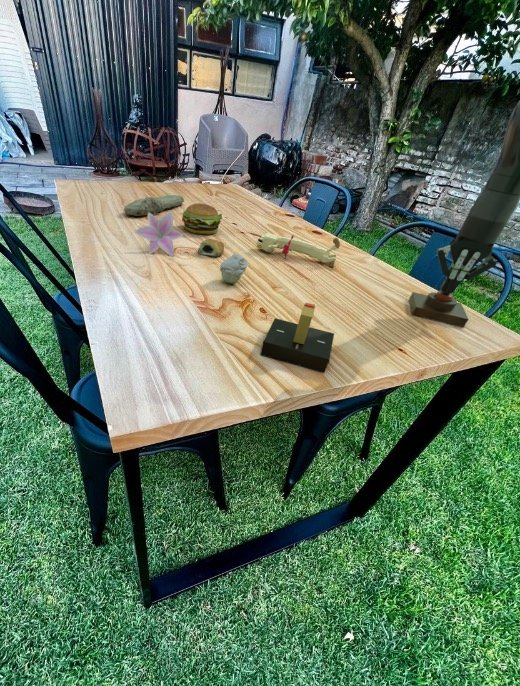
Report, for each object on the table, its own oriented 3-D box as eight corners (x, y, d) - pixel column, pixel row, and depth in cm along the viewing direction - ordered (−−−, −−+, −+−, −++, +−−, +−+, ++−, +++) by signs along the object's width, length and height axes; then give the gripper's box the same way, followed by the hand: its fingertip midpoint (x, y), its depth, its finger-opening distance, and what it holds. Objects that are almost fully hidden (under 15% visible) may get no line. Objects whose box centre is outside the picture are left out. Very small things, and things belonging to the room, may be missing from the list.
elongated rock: (190, 208, 146) (169, 205, 149) (190, 194, 143) (169, 190, 146) (140, 218, 120) (117, 214, 123) (139, 201, 117) (115, 197, 120)
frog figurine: (248, 286, 88) (253, 258, 83) (224, 288, 85) (228, 260, 80) (237, 276, 92) (241, 249, 87) (213, 279, 89) (216, 251, 84)
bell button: (448, 299, 87) (452, 292, 85) (450, 304, 84) (454, 298, 83) (433, 295, 87) (436, 289, 86) (435, 301, 85) (438, 294, 83)
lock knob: (303, 344, 63) (312, 315, 59) (292, 341, 63) (301, 313, 59) (307, 332, 66) (315, 304, 63) (297, 329, 67) (305, 301, 63)
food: (175, 232, 115) (175, 205, 110) (187, 222, 125) (188, 197, 120) (215, 239, 114) (217, 212, 108) (224, 228, 124) (226, 204, 119)
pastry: (209, 245, 108) (210, 232, 106) (228, 250, 107) (230, 237, 104) (196, 253, 101) (197, 240, 99) (217, 259, 100) (219, 245, 97)
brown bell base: (456, 310, 90) (464, 296, 88) (463, 327, 83) (473, 312, 80) (408, 299, 93) (415, 285, 90) (411, 315, 85) (419, 299, 83)
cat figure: (332, 263, 112) (258, 241, 114) (343, 235, 106) (265, 213, 108) (330, 274, 104) (252, 250, 107) (342, 244, 98) (259, 220, 101)
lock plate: (329, 346, 69) (334, 332, 67) (324, 373, 62) (329, 358, 60) (271, 331, 71) (275, 317, 69) (260, 355, 64) (263, 340, 62)
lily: (130, 251, 100) (131, 225, 91) (150, 226, 104) (153, 199, 96) (167, 272, 100) (171, 248, 92) (185, 247, 105) (191, 221, 97)
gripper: (458, 213, 72) (418, 292, 83) (529, 226, 69) (477, 306, 81) (452, 206, 77) (415, 281, 88) (517, 218, 75) (470, 294, 86)
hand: (445, 293), depth 84 cm, fingers closed
